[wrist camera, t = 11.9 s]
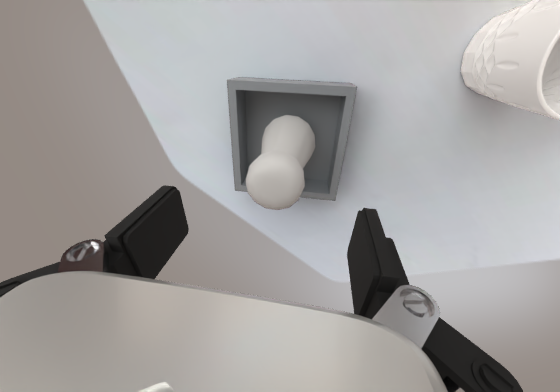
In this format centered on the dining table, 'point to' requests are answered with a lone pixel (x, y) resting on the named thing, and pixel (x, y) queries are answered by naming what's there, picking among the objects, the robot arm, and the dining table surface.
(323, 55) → the dining table surface
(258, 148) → the box
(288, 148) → the salt shaker
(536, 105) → the white cup
